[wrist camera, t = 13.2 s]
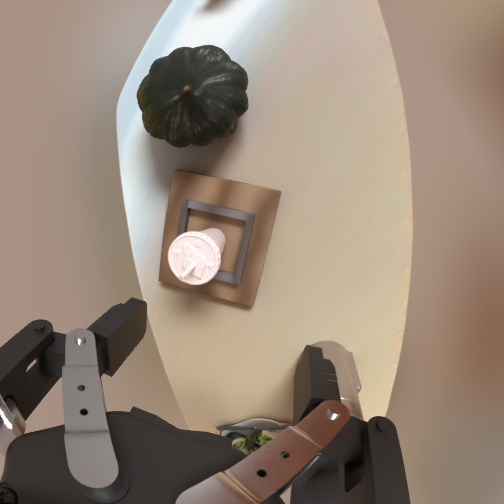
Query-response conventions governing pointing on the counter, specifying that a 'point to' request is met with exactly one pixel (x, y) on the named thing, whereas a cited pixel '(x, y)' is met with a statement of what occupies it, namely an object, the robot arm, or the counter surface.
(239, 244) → the base board
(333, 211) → the counter surface
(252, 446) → the salad plate
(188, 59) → the squash
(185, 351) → the counter surface
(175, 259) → the smoothie
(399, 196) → the counter surface
